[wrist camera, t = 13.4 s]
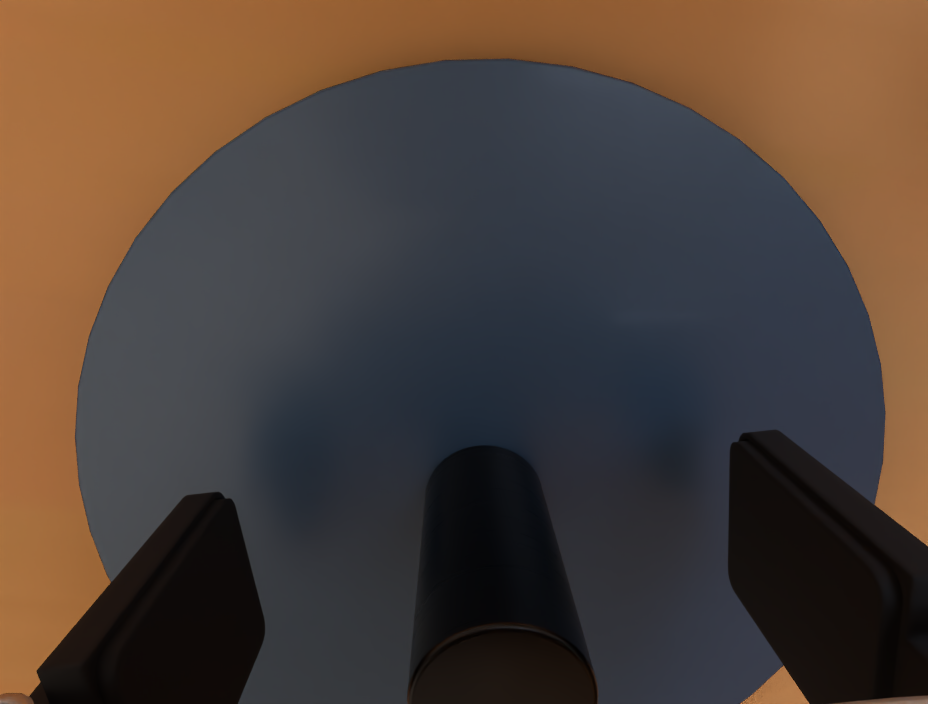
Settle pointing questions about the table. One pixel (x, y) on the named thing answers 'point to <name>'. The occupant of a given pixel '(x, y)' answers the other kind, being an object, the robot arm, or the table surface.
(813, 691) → the robot arm
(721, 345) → the pan lid
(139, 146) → the table surface
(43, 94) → the table surface
